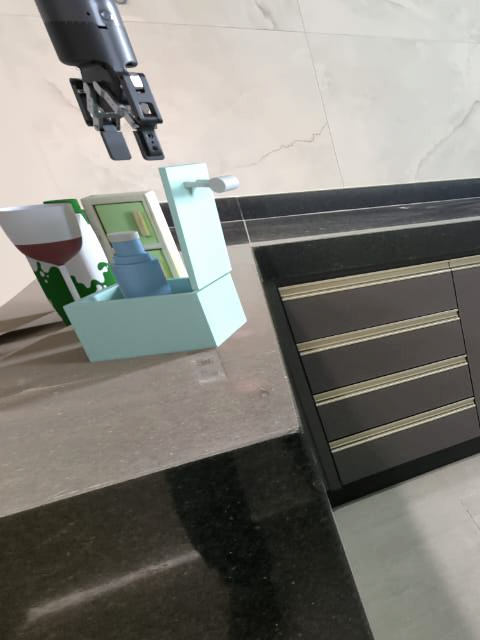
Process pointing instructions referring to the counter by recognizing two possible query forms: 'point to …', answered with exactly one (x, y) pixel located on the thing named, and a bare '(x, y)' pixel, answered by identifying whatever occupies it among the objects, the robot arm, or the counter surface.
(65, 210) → the wineglass
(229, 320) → the box
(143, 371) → the counter surface
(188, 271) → the lid
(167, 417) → the counter surface
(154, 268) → the water bottle
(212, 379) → the counter surface
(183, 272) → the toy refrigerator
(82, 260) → the milk carton
